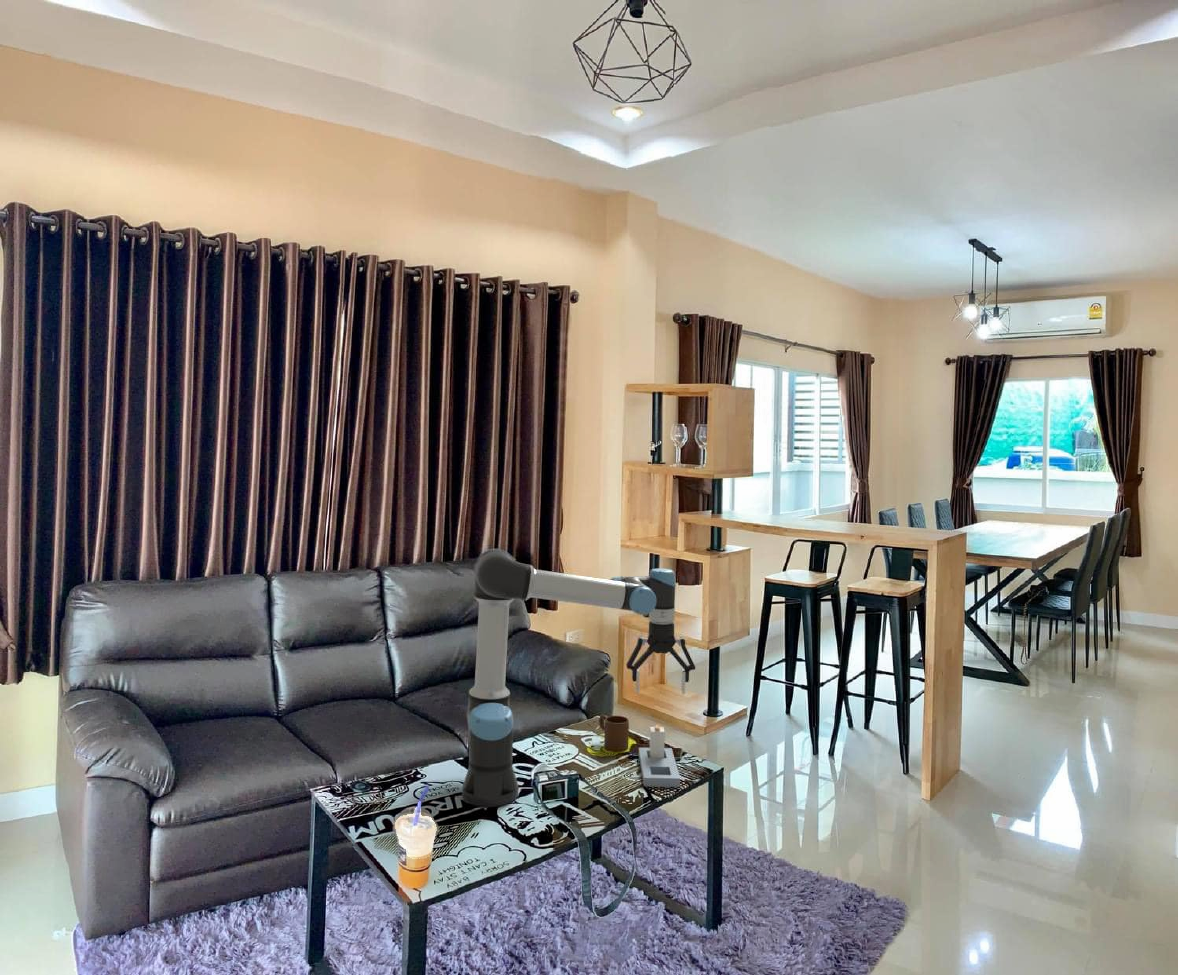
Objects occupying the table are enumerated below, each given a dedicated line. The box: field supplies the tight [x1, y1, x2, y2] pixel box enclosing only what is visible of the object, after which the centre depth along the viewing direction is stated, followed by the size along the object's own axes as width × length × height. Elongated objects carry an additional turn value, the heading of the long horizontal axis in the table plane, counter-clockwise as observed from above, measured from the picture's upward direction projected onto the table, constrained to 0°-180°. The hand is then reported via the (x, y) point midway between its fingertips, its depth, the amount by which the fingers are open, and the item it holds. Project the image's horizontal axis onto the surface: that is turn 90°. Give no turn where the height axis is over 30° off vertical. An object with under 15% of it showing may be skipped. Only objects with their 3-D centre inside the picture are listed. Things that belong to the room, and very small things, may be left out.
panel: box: [638, 747, 681, 788], centre depth 236 cm, size 10×22×3 cm, turn 0°
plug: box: [649, 724, 666, 758], centre depth 241 cm, size 4×4×11 cm
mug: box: [598, 714, 630, 753], centre depth 254 cm, size 12×8×9 cm, turn 39°
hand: (660, 692), depth 239 cm, fingers open, 13 cm apart
